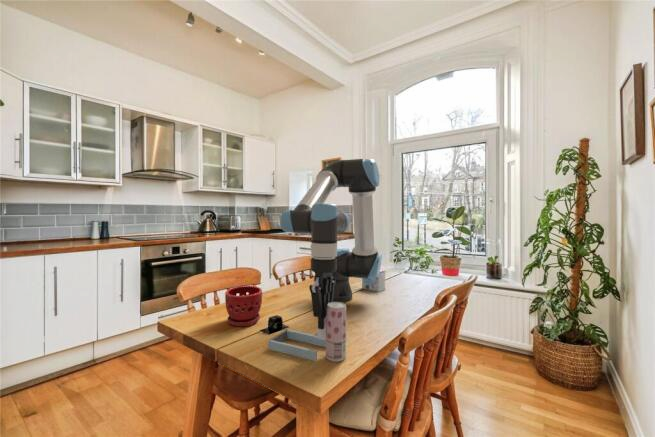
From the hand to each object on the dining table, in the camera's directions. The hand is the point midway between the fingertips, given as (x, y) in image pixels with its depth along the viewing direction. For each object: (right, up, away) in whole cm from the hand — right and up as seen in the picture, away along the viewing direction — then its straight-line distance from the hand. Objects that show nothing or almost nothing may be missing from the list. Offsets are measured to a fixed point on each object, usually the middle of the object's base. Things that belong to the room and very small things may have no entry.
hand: (322, 338), depth 86 cm
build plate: (-17, -5, +18) cm, 25 cm away
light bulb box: (+26, -3, +73) cm, 77 cm away
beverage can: (+4, -5, -2) cm, 6 cm away
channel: (-7, -4, +4) cm, 9 cm away
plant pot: (-30, -4, +24) cm, 38 cm away
